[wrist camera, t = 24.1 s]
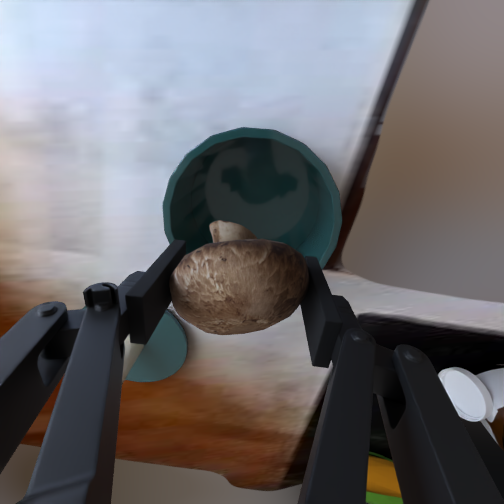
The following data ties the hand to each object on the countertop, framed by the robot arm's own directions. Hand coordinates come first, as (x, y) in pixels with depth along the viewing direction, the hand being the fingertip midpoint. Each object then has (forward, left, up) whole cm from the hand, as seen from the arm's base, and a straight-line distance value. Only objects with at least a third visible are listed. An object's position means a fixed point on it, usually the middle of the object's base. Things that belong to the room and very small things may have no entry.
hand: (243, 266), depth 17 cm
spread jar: (+23, +38, -15) cm, 47 cm away
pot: (0, 0, -15) cm, 15 cm away
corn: (+46, +26, -15) cm, 55 cm away
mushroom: (0, 0, 0) cm, 0 cm away
